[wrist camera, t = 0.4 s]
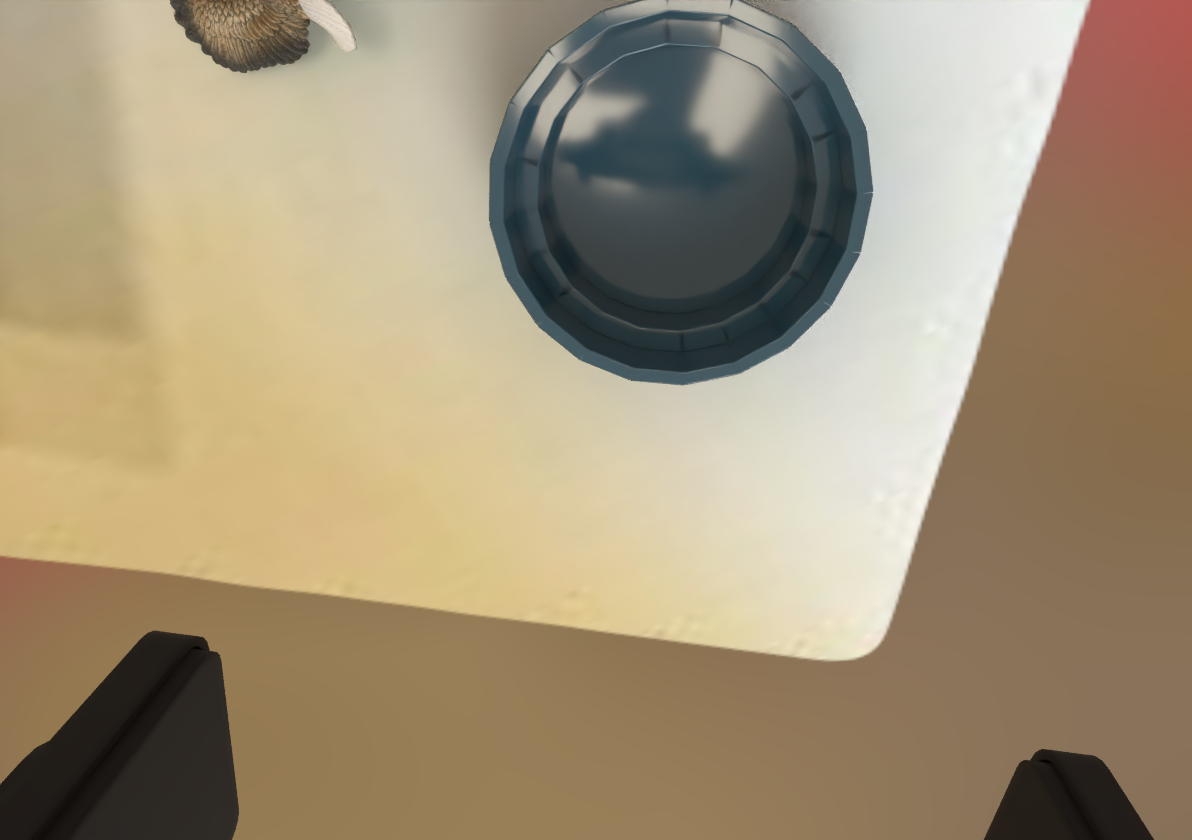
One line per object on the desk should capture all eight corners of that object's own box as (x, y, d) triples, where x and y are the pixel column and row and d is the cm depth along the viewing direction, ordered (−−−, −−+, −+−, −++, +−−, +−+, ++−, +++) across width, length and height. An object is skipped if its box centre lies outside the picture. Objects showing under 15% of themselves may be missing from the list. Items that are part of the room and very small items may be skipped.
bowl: (517, -9, 32) (491, -22, 27) (871, 17, 31) (912, 9, 26) (509, 327, 38) (486, 368, 33) (807, 353, 37) (830, 399, 32)
